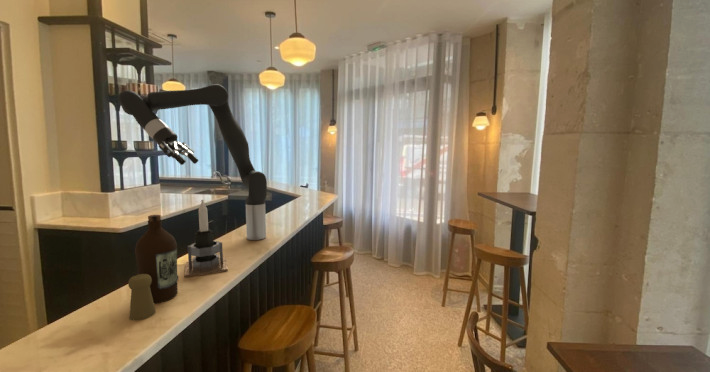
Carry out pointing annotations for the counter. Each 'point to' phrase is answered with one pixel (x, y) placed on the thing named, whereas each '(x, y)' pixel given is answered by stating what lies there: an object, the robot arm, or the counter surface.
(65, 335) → the counter surface
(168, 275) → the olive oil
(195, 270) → the collar stand
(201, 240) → the bottle
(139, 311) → the cork
